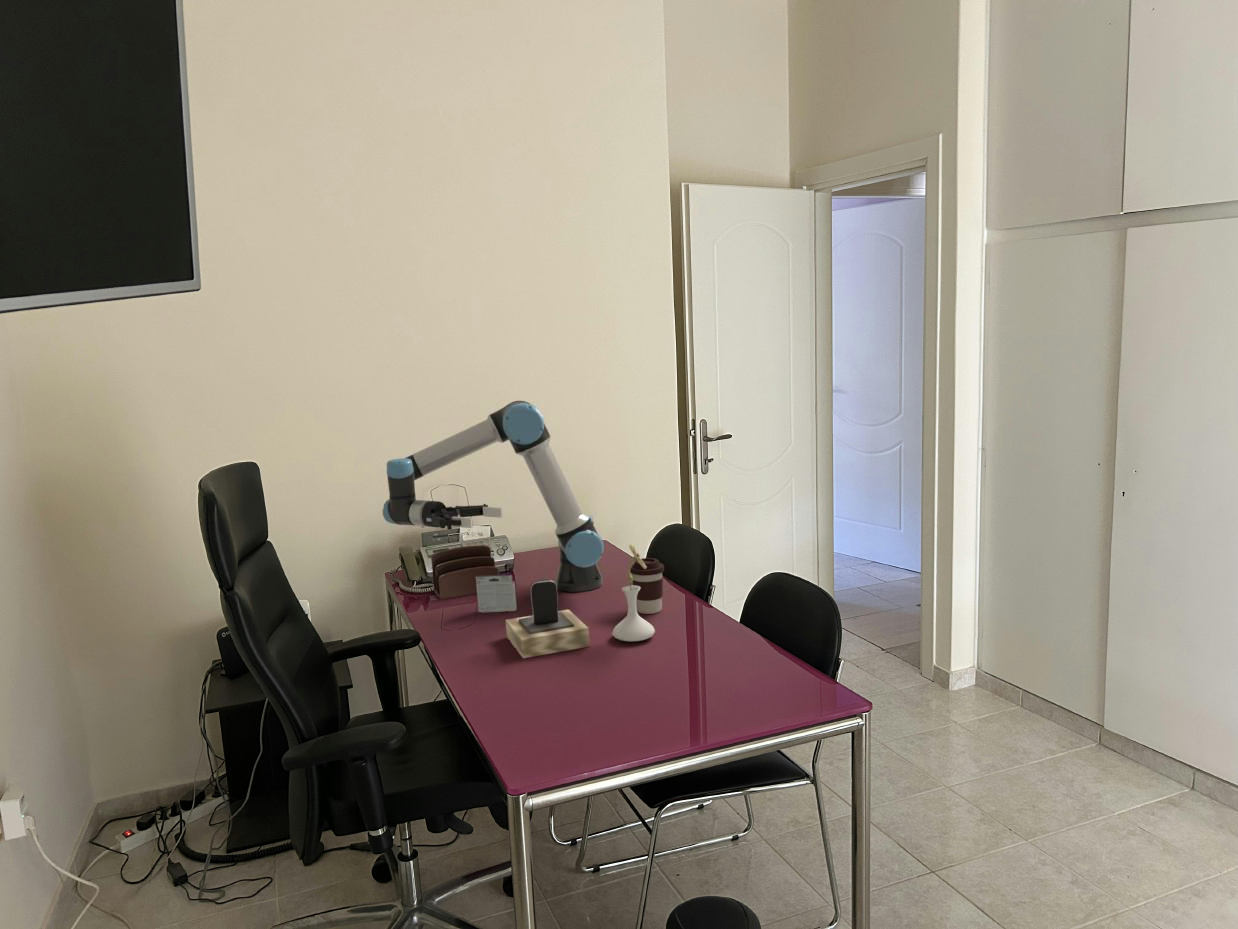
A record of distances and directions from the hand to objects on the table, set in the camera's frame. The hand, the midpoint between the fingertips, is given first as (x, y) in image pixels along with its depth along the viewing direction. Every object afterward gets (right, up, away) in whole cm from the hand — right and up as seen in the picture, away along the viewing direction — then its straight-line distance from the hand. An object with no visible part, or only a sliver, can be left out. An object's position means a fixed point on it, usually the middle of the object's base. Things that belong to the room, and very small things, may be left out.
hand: (487, 517), depth 253 cm
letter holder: (-13, -27, +44) cm, 53 cm away
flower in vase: (+41, -32, -9) cm, 52 cm away
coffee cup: (+46, -28, +12) cm, 55 cm away
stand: (+17, -33, -9) cm, 38 cm away
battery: (+17, -27, -10) cm, 34 cm away
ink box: (0, -30, +21) cm, 36 cm away
